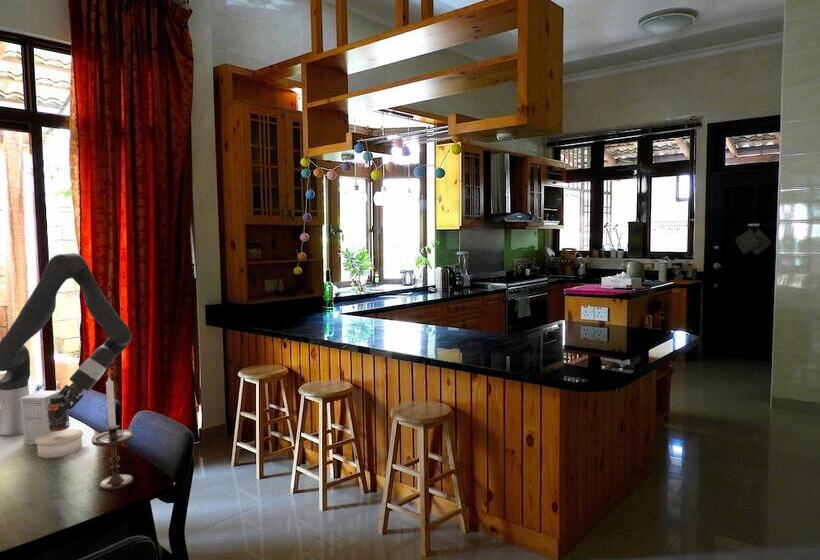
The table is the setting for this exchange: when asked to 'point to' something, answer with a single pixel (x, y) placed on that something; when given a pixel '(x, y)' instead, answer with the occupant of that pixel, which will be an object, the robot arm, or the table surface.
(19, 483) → the table surface
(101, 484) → the candlestick
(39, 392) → the supplement box
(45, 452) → the podium
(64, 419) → the supplement bottle
